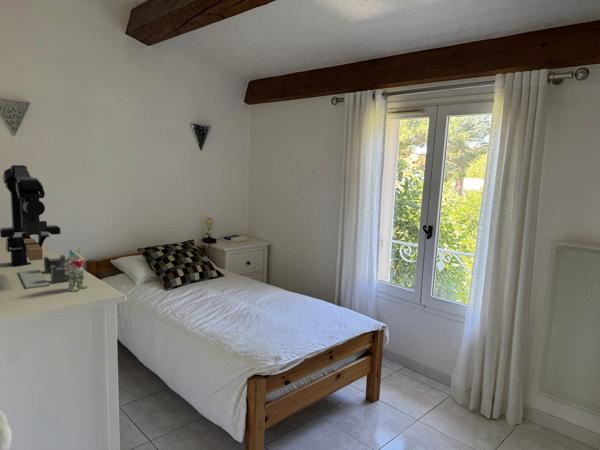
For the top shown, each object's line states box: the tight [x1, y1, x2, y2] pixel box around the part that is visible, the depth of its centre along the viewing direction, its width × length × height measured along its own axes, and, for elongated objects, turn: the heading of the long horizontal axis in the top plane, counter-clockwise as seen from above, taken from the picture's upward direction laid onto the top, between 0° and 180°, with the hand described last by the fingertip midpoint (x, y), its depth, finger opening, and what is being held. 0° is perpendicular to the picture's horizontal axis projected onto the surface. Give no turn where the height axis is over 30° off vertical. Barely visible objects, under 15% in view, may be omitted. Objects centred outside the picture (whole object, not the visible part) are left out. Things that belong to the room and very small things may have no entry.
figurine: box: [62, 247, 89, 293], centre depth 145 cm, size 8×8×15 cm
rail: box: [24, 238, 44, 262], centre depth 153 cm, size 22×4×4 cm, turn 40°
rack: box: [43, 254, 70, 284], centre depth 160 cm, size 20×7×6 cm, turn 40°
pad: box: [18, 268, 50, 290], centre depth 155 cm, size 25×7×1 cm, turn 40°
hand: (32, 253), depth 154 cm, fingers closed on rail, 4 cm apart
